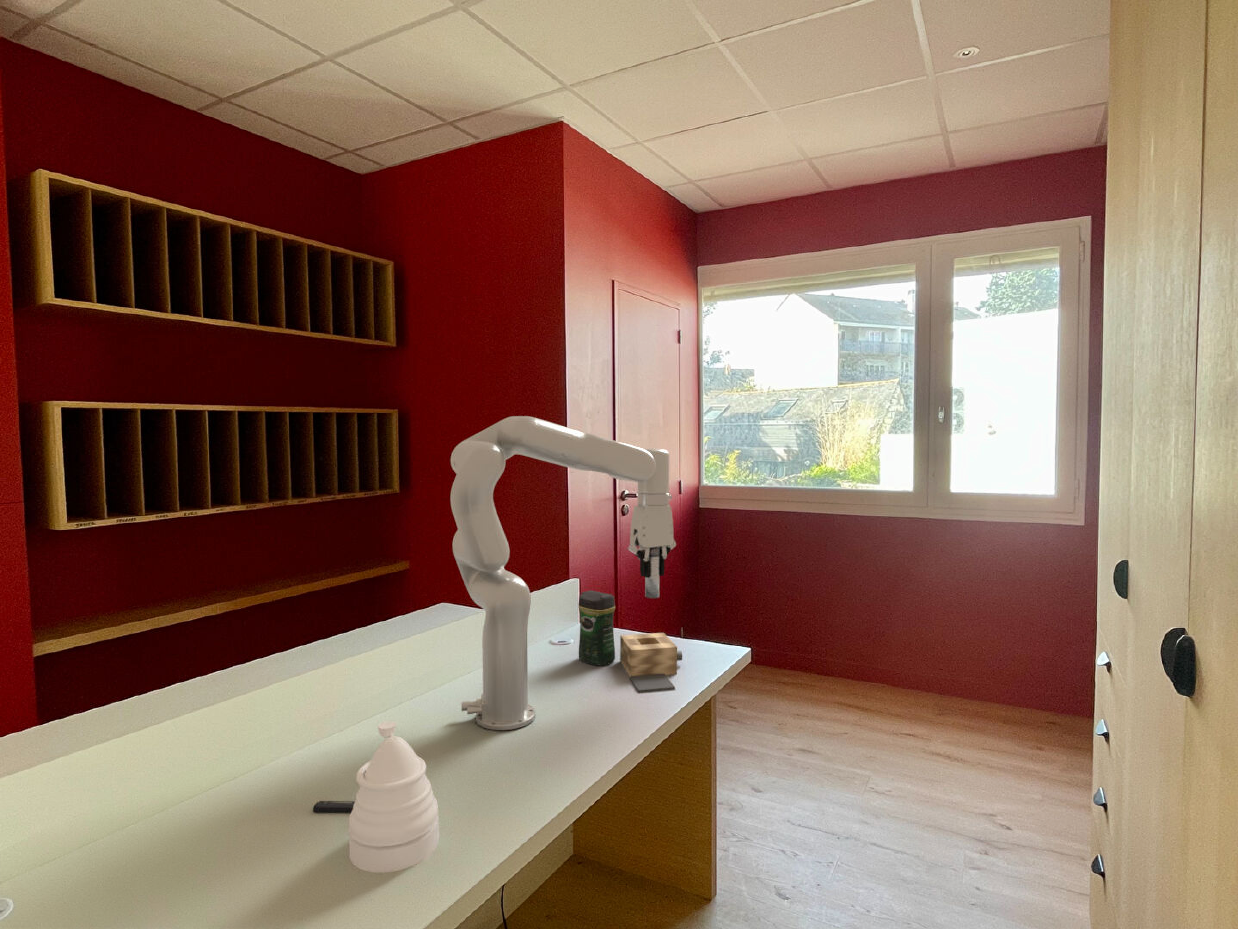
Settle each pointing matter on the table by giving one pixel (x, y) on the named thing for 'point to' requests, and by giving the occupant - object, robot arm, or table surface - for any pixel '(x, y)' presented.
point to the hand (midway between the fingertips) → (652, 574)
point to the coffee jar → (596, 628)
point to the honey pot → (393, 809)
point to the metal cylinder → (653, 574)
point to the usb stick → (333, 807)
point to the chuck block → (649, 654)
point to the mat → (651, 683)
